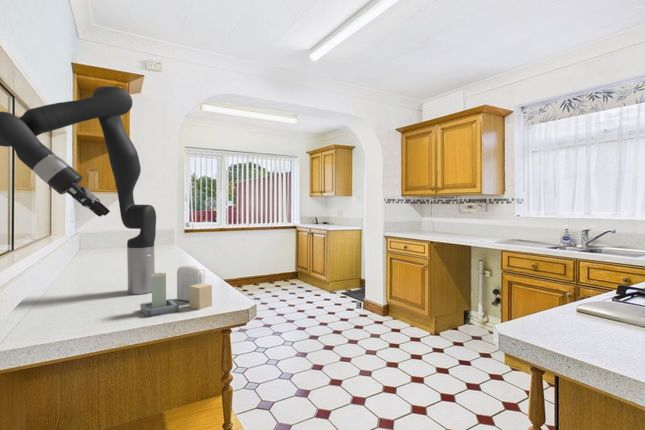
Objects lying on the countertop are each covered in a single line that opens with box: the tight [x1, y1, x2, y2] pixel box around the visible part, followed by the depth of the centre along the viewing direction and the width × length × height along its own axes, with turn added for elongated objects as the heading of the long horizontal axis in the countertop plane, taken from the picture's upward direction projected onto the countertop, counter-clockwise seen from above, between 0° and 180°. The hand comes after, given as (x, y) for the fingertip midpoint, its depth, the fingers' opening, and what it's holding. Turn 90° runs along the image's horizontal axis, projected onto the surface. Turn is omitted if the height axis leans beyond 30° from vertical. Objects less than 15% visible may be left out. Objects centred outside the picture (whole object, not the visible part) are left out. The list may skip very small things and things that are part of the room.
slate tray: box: [140, 298, 180, 318], centre depth 113 cm, size 9×9×2 cm
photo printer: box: [176, 264, 206, 302], centre depth 125 cm, size 10×4×12 cm, turn 69°
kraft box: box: [188, 283, 213, 311], centre depth 118 cm, size 5×5×7 cm
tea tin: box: [151, 271, 167, 309], centre depth 113 cm, size 4×4×11 cm
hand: (105, 214), depth 107 cm, fingers open, 8 cm apart
